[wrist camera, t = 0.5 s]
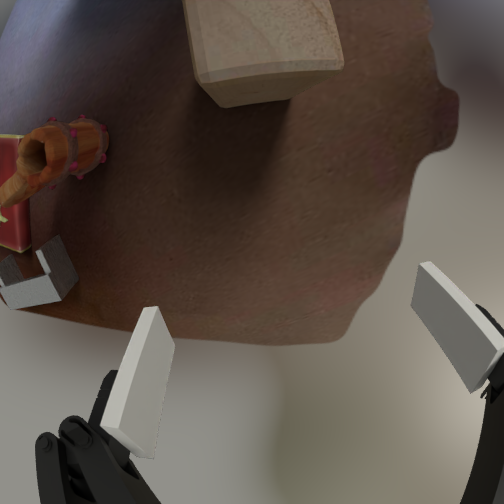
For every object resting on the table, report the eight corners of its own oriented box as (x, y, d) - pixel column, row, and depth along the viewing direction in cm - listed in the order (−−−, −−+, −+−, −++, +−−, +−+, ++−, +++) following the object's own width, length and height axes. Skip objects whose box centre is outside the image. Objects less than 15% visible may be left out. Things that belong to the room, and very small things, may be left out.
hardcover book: (35, 133, 30) (19, 136, 27) (33, 244, 39) (21, 254, 35) (-3, 132, 28) (-17, 135, 25) (-2, 232, 37) (-14, 240, 33)
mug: (104, 104, 30) (40, 101, 16) (127, 149, 33) (69, 166, 20) (42, 160, 32) (-21, 183, 19) (63, 199, 36) (4, 236, 22)
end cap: (9, 255, 39) (-10, 271, 33) (59, 234, 38) (37, 252, 32) (26, 291, 43) (10, 309, 37) (79, 278, 42) (61, 300, 36)
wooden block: (219, 110, 32) (194, 89, 14) (207, 44, 28) (176, -27, 10) (293, 99, 32) (352, 73, 14) (281, 34, 27) (321, -39, 9)
